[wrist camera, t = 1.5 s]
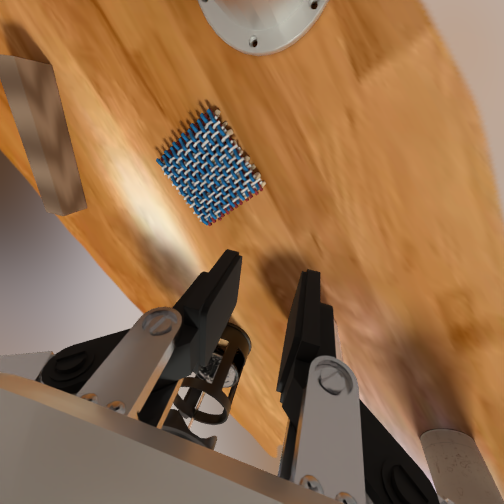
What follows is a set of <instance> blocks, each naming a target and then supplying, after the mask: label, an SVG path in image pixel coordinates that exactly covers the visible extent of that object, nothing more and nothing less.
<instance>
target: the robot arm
mask: <svg viewBox="0 0 504 504" xmlns="http://www.w3.org/2000/svg"><path fill="white" fill-rule="evenodd" d="M198 2H199V5H200V7H201V10H202V12H203V14H204V16H205V18H206V20H207V21H208V23H209V24H210V26H211V27H212V28H213V30H214V31H215V33H216V34H217V35H218V36H219V37H220V38H221V39H222V40H223V41H225V42H226V43H227V44H228V45H230V46H231V47H232V48H234V49H236V50H238V51H240V52H242V53H245V54H249V55H255V56H262V55H271V54H274V53H277V52H280V51H283V50H284V49H286V48H288V47H289V46H291V45H293V44H294V43H296V42H297V41H298V40H299V39H300V38H301V37H302V36H304V35H305V34H306V33H307V32H308V31H309V29H310V28H311V27H312V26H313V24H314V23H315V22H316V21H317V20H318V18H319V17H320V15H321V13H322V12H323V10H324V8H325V7H326V5H327V3H328V2H329V0H208V2H207V0H198ZM313 3H316V4H317V5H318V6H317V8H316V9H312V8H311V6H312V5H313ZM255 41H257V43H258V44H257V46H256V47H253V43H254V42H255ZM241 265H242V256H240V255H239V252H236V251H232V250H228V249H227V250H226V251H225V252H224V253H223V255H222V256H221V257H220V259H219V260H218V261H217V263H216V264H215V265H214V266H213V268H212V269H211V270H210V272H209V273H208V272H202V273H201V274H200V275H199V276H198V277H197V279H196V280H195V281H194V282H193V283H192V285H191V286H190V287H189V288H188V289H187V291H186V292H185V293H184V294H183V296H182V297H181V298H180V299H179V300H178V302H177V303H176V304H175V305H174V307H173V308H170V307H158V308H155V309H151V310H149V311H148V312H146V313H145V314H143V315H142V316H141V317H140V319H139V320H138V321H137V322H136V323H135V324H134V326H133V327H132V328H131V329H127V330H124V331H120V332H117V333H114V334H110V335H107V336H104V337H100V338H96V339H93V340H89V341H86V342H83V343H79V344H76V345H73V346H70V347H67V348H65V349H63V350H62V351H60V352H58V353H57V354H53V352H52V351H48V352H37V353H26V354H15V355H4V356H0V504H455V503H454V502H452V501H451V500H450V499H449V498H447V499H445V500H444V499H442V498H441V497H440V496H439V495H438V494H437V493H436V491H435V490H434V488H433V486H432V484H431V482H430V480H429V479H428V478H427V476H426V475H425V474H424V472H423V471H422V470H421V469H420V467H419V466H418V465H417V464H416V463H415V462H414V461H413V459H412V458H411V457H410V456H409V455H408V454H407V453H406V451H405V450H404V449H403V448H402V447H401V446H400V445H399V443H398V442H397V441H396V440H395V439H394V438H393V437H392V435H391V434H390V433H389V432H388V431H387V430H386V429H385V427H384V426H383V425H382V424H381V423H380V422H379V421H378V419H377V418H376V417H375V416H374V415H373V414H372V413H371V411H370V410H369V409H368V408H367V407H366V406H365V405H364V403H363V402H362V401H361V400H360V399H359V387H358V382H357V379H356V377H355V375H354V373H353V372H352V370H351V369H350V368H349V367H348V366H347V365H346V364H345V363H343V362H342V361H341V360H339V359H337V358H336V345H335V331H334V316H333V307H332V306H331V305H327V304H323V303H320V272H317V271H313V270H309V269H308V270H307V272H304V271H302V273H301V276H300V280H299V283H298V287H297V290H296V294H295V297H294V301H293V304H292V307H291V311H290V314H289V318H288V323H287V329H286V335H285V341H284V347H283V353H282V359H281V365H280V371H279V377H278V383H277V389H276V391H278V392H280V393H281V398H280V402H281V403H283V404H282V408H283V409H284V411H285V412H286V414H287V416H288V417H289V418H288V422H287V428H286V433H285V438H284V444H283V449H282V454H281V460H280V465H279V471H278V476H275V475H273V474H270V473H268V472H266V471H263V470H261V469H258V468H256V467H253V466H251V465H248V464H246V463H243V462H241V461H238V460H236V459H233V458H231V457H228V456H226V455H223V454H221V453H218V452H216V451H213V450H211V449H208V448H206V447H203V446H201V445H198V444H196V443H193V442H191V441H188V440H186V439H183V438H181V437H178V436H176V435H173V434H171V433H168V432H166V431H163V430H161V428H162V426H163V424H164V421H165V419H166V417H167V415H168V413H169V410H170V408H171V406H172V404H173V402H174V399H175V397H176V395H177V393H178V391H179V388H180V386H181V384H182V382H183V379H184V377H187V376H189V375H191V373H192V372H194V373H197V374H198V373H199V371H200V369H201V367H202V366H204V367H206V366H207V365H208V363H209V360H210V358H211V356H212V354H213V352H214V350H215V348H216V346H217V344H218V342H219V340H220V337H221V335H222V333H223V331H224V329H225V327H226V325H227V323H228V321H229V319H230V316H231V314H232V312H233V310H234V308H235V306H236V303H237V297H238V289H239V281H240V273H241Z"/></svg>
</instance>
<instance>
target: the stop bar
mask: <svg viewBox="0 0 504 504" xmlns="http://www.w3.org/2000/svg"><path fill="white" fill-rule="evenodd" d="M0 79H1V82H2V85H3V88H4V91H5V94H6V97H7V99H8V102H9V105H10V108H11V111H12V114H13V117H14V120H15V123H16V125H17V128H18V131H19V134H20V137H21V140H22V143H23V146H24V149H25V151H26V154H27V157H28V160H29V163H30V166H31V169H32V172H33V175H34V177H35V180H36V183H37V186H38V189H39V192H40V195H41V198H42V201H43V203H44V206H45V209H46V212H49V213H53V214H57V215H60V216H65V215H68V214H71V213H74V212H77V211H80V210H83V209H86V208H87V205H86V201H85V197H84V193H83V189H82V185H81V181H80V176H79V172H78V168H77V164H76V160H75V156H74V152H73V148H72V144H71V140H70V136H69V132H68V128H67V124H66V120H65V116H64V112H63V108H62V104H61V100H60V96H59V92H58V88H57V84H56V80H55V76H54V72H53V68H52V65H50V64H45V63H41V62H37V61H32V60H28V59H24V58H20V57H15V56H8V55H0Z"/></svg>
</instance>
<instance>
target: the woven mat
mask: <svg viewBox="0 0 504 504" xmlns="http://www.w3.org/2000/svg"><path fill="white" fill-rule="evenodd" d="M207 112H208V114H209V117H210V118H209V117H208V116H207V114H206V113H205V114H203V113H201V115H200V117H201V118H202V119H201V118H200V119H198V120H197V122H198V124H199V126H198V125H197V124H196V123H195V124H193V123H192V124H191V125H190V126H191V128H189V129H188V130H187V131H188V133H186V134H184V133H182V134H181V136H182V137H180V138H179V139H178V140H179V141H177V142H173V143H172V144H173V146H172V147H171V148H170V149H171V150H170V149H169V150H168V151H167V150H165V151H164V153H165V154H164V155H163V156H162V157H161V159H158V158H157V159H156V161H157V163H158V164H159V165H160V166H162V171H163V169H164V172H165V173H163V174H164V175H166V174H167V175H168V179H169V178H170V177H171V181H172V182H173V184H172V186H173V185H175V186H177V188H176V189H177V190H178V189H179V190H180V192H179V194H182V196H184V200H186V199H187V202H186V204H188V203H189V204H190V205H191V206H189V207H190V208H191V207H193V208H194V211H195V212H193V213H194V214H195V213H196V214H198V215H199V216H197V217H198V218H199V217H200V218H201V220H200V222H201V221H202V222H203V223H204V224H206V225H209V226H211V225H212V223H211V222H212V221H213V223H215V222H216V219H217V218H218V220H222V219H221V217H224V216H225V215H224V213H227V215H228V214H230V213H229V210H231V211H233V210H234V209H233V207H235V208H237V207H238V205H237V204H240V205H242V204H243V202H242V201H243V200H246V201H248V200H249V199H248V197H250V198H252V197H253V195H252V194H254V193H255V194H256V195H257V194H258V191H257V190H260V191H262V190H263V188H262V187H263V186H264V185H265V184H266V182H265V181H263V182H262V180H261V179H260V177H261V175H260V173H258V172H257V173H254V172H253V171H252V170H254V169H255V168H256V167H255V165H254V164H252V165H251V164H249V159H250V157H248V156H245V157H244V158H243V157H242V154H243V151H242V149H241V148H240V147H238V146H237V144H238V143H237V142H236V140H234V141H232V139H231V137H230V136H231V135H232V134H233V131H232V129H229V130H228V131H227V130H226V129H224V128H225V127H226V125H227V124H228V123H227V122H226V121H225V122H224V123H223V124H221V123H220V121H219V120H218V117H219V114H220V112H221V111H219V110H216V111H215V112H214V113H213V111H212V110H211V108H209V109H208V110H207ZM203 121H204V122H205V123H204V122H203ZM212 123H214V125H213V124H212ZM216 126H217V128H215V127H216ZM208 128H209V129H208ZM192 129H193V130H194V131H195V132H194V131H193V130H192ZM210 132H211V133H210ZM219 133H220V134H219ZM198 137H199V138H198ZM214 137H216V138H214ZM216 140H217V141H216ZM225 141H226V143H227V145H226V143H225ZM179 142H180V143H179ZM196 145H197V146H196ZM204 146H206V147H204ZM220 146H221V147H222V149H221V148H220ZM236 147H238V148H236ZM215 150H216V152H215ZM232 151H233V152H232ZM187 153H188V154H187ZM226 156H227V157H226ZM160 160H161V161H163V162H161V161H160ZM231 163H232V164H233V165H232V164H231ZM247 164H249V165H247ZM226 167H227V168H228V169H227V168H226ZM242 168H243V169H242ZM221 171H222V172H221ZM247 175H249V178H248V177H247ZM232 176H233V177H232ZM212 178H213V179H212ZM228 179H229V180H228ZM243 180H244V181H243ZM260 180H261V181H260ZM183 181H184V182H183ZM259 181H260V182H259ZM237 182H238V184H239V185H238V184H237ZM252 182H253V183H252ZM253 185H254V186H253ZM218 187H219V188H218ZM232 187H233V188H234V189H233V188H232ZM228 191H229V192H228ZM207 195H208V196H207ZM218 196H219V197H218Z"/></svg>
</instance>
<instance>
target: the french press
mask: <svg viewBox="0 0 504 504" xmlns="http://www.w3.org/2000/svg"><path fill="white" fill-rule="evenodd" d="M220 338H221V339H225V340H227V341H229V343H228V346H227V348H226V350H225V353H224V352H222V351H220V350H218V349H217V348H215V350H214V352H213V354H212V356H211V358H210V360H209V363H208V365H207V366H206V367H204V366H202V367H201V369H200V371H199V373H198V374H197V373H195V374H196V376H195V378H193V377H184V379H183V382H182V384H181V386H180V387H190V388H189V390H188V392H187V394H186V396H185V398H184V400H182V399H181V397H180V396H179V395H178V393H177V395H176V397H175V399H174V402H173V403H174V405H175V406H176V407H177V409H179V410H178V411H177V410H175V409H170V410H169V413H168V415H167V417H166V419H165V421H164V424H163V426H162V428H161V430H163V431H166V432H168V433H171V434H173V435H176V436H178V437H181V438H183V439H186V440H188V441H191V442H193V443H196V444H198V445H201V446H203V447H206V448H208V449H211V450H214V447H215V444H216V441H217V437H216V436H212V437H209V438H206V439H205V438H199V437H198V436H197V435H195V434H193V433H192V432H191V431H190V430H189V429H190V427H191V425H192V422H193V420H196V421H199V422H201V423H205V424H211V425H217V424H222V423H224V422H225V421H226V420H227V418H228V415H229V412H230V409H231V404H232V401H233V397H234V394H235V391H236V388H237V385H238V382H239V379H240V376H241V373H242V370H243V367H244V365H245V362H246V359H247V356H248V354H249V353H250V351H251V341H250V338H249V337H248V335H247V334H246V333H245V332H244V331H243V330H242V329H241V328H239V327H238V326H236V325H234V324H231V323H227V325H226V327H225V329H224V331H223V333H222V335H221V337H220ZM237 348H238V349H239V350H240V351H241V352H240V353H238V354H236V351H237ZM231 386H232V387H231ZM224 387H231V390H230V393H229V396H228V397H227V396H226V394H225V393H224V392H223V391H222V388H224ZM202 391H203V394H202V396H201V398H200V400H199V403H198V405H197V407H196V409H195V406H196V404H197V402H198V399H199V397H200V395H201V393H202ZM205 393H207V394H209V395H210V396H212V397H214V398H215V399H216V400H217V401H218V402H219V403H220V404H221V405H222V406H223V407H224V410H223V413H222V414H220V415H213V414H207V413H204V412H201V411H199V410H198V408H199V406H200V404H201V402H202V399H203V397H204V395H205ZM183 417H184V418H186V419H187V418H188V417H190V418H191V421H190V423H189V425H188V427H187V425H186V424H185V421H184V419H183Z"/></svg>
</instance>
